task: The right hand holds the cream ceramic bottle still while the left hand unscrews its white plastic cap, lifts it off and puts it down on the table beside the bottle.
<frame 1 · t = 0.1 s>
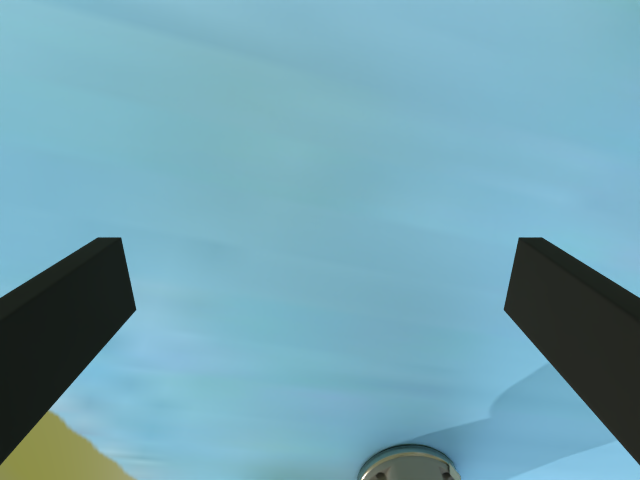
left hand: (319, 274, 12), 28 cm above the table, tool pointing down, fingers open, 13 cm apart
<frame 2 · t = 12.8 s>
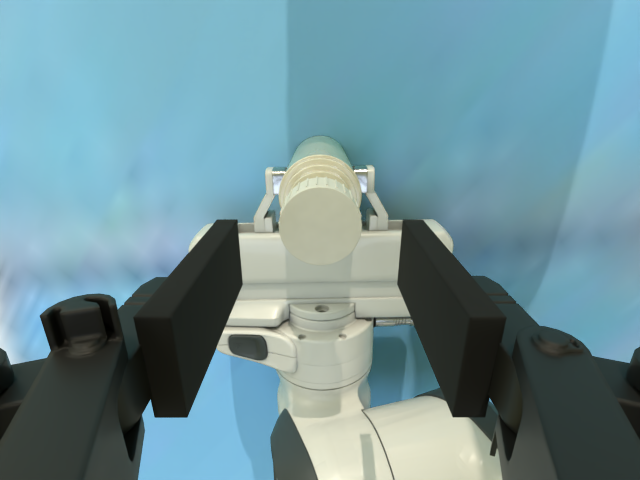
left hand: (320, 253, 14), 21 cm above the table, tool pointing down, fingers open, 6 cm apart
right hand: (319, 167, 27), fingers closed on bottle, 5 cm apart
bottle: (319, 164, 33), on the table, touching right hand
cap: (320, 225, 17), point 18 cm above the table, screwed on, not yet turned
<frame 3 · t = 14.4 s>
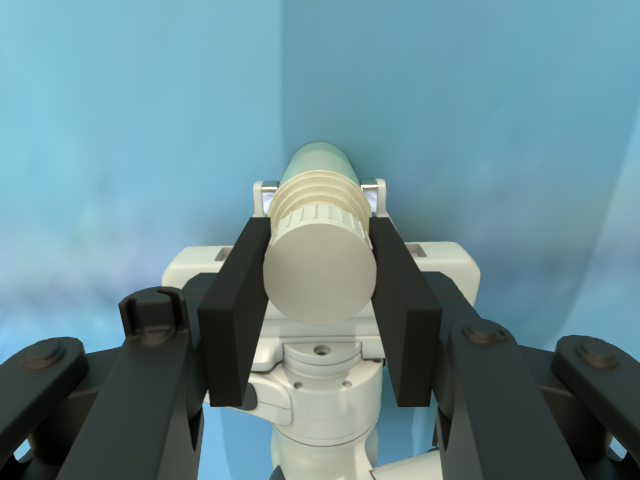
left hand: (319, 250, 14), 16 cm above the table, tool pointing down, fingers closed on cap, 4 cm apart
bottle: (319, 174, 29), on the table, touching right hand
cap: (319, 273, 12), point 18 cm above the table, screwed on, not yet turned, touching left hand
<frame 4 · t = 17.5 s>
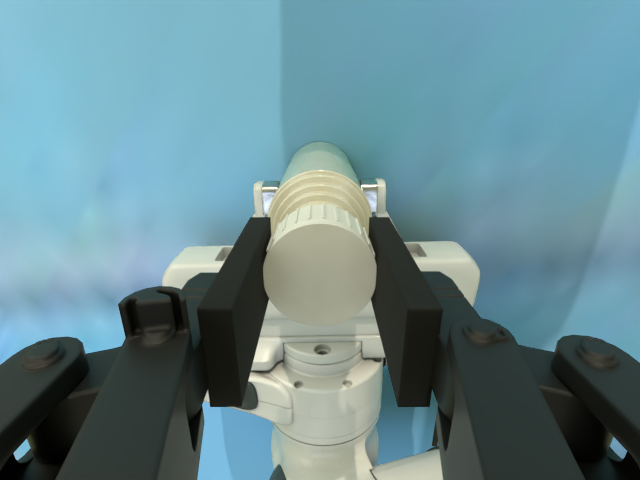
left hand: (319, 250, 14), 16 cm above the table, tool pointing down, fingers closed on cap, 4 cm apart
bottle: (319, 174, 29), on the table, touching right hand
cap: (320, 273, 12), point 18 cm above the table, turned 102° so far, risen 0.1 cm, still on its thread, touching left hand
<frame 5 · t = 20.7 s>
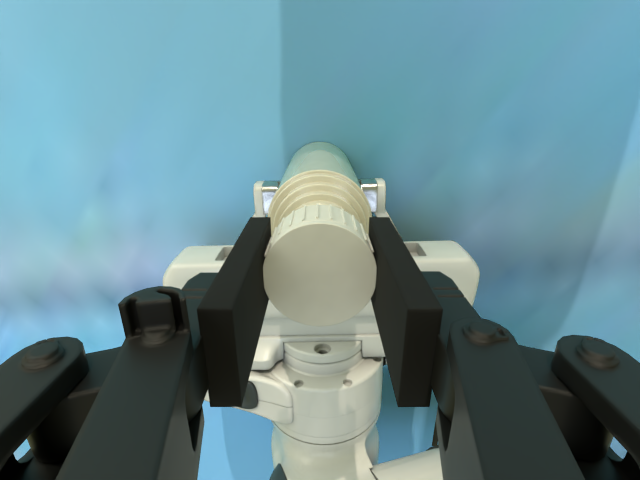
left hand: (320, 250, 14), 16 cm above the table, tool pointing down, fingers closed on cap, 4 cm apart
bottle: (319, 174, 29), on the table, touching right hand
cap: (319, 273, 12), point 18 cm above the table, turned 205° so far, risen 0.2 cm, still on its thread, touching left hand
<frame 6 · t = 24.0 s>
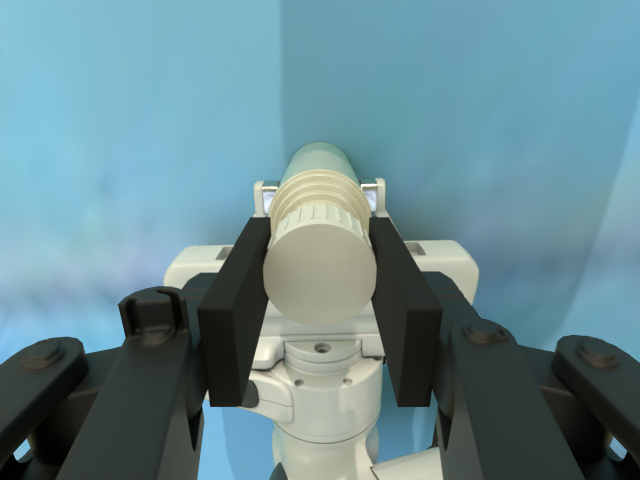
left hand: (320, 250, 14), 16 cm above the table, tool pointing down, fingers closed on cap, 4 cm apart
bottle: (319, 174, 29), on the table, touching right hand
cap: (319, 273, 12), point 18 cm above the table, turned 307° so far, risen 0.3 cm, still on its thread, touching left hand
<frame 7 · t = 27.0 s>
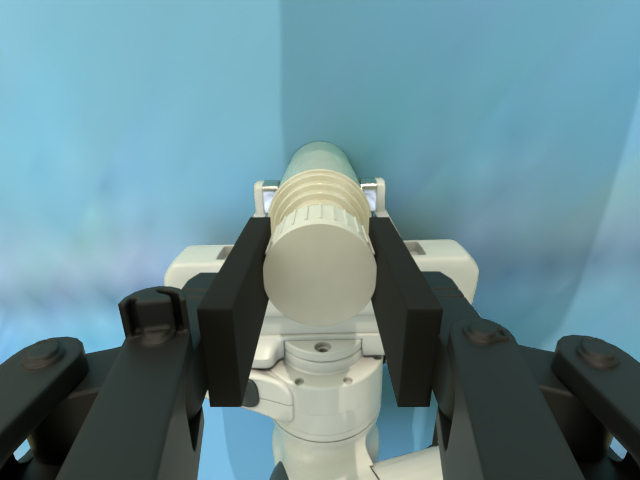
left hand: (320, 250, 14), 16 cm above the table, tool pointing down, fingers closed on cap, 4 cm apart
bottle: (319, 173, 29), on the table, touching right hand
cap: (319, 273, 12), point 18 cm above the table, turned 410° so far, risen 0.3 cm, still on its thread, touching left hand
when the left hand's fingers open (1 cm above the table, at t = 32.9 s): cap drops 1 cm, point 2 cm above the table.
when the right hand's fingers open (7 cm above the table, at t = 34.2 s): bottle stays where it is, on the table.
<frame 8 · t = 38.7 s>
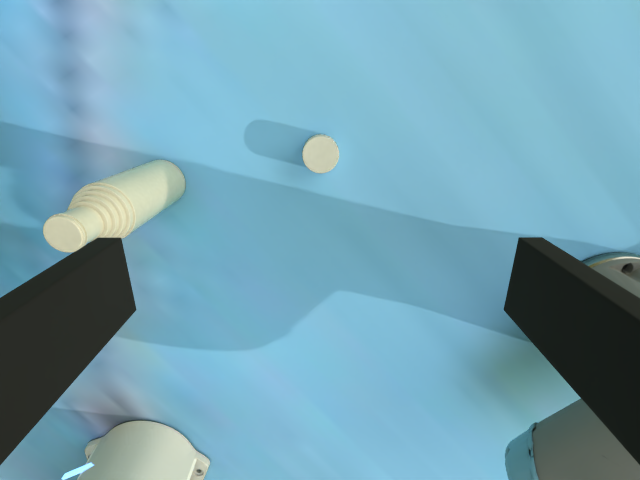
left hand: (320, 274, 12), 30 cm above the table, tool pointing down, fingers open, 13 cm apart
bottle: (163, 181, 42), on the table
cap: (320, 154, 39), point 2 cm above the table, off its thread
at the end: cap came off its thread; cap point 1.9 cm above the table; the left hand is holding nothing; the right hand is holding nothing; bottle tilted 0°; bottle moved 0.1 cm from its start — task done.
